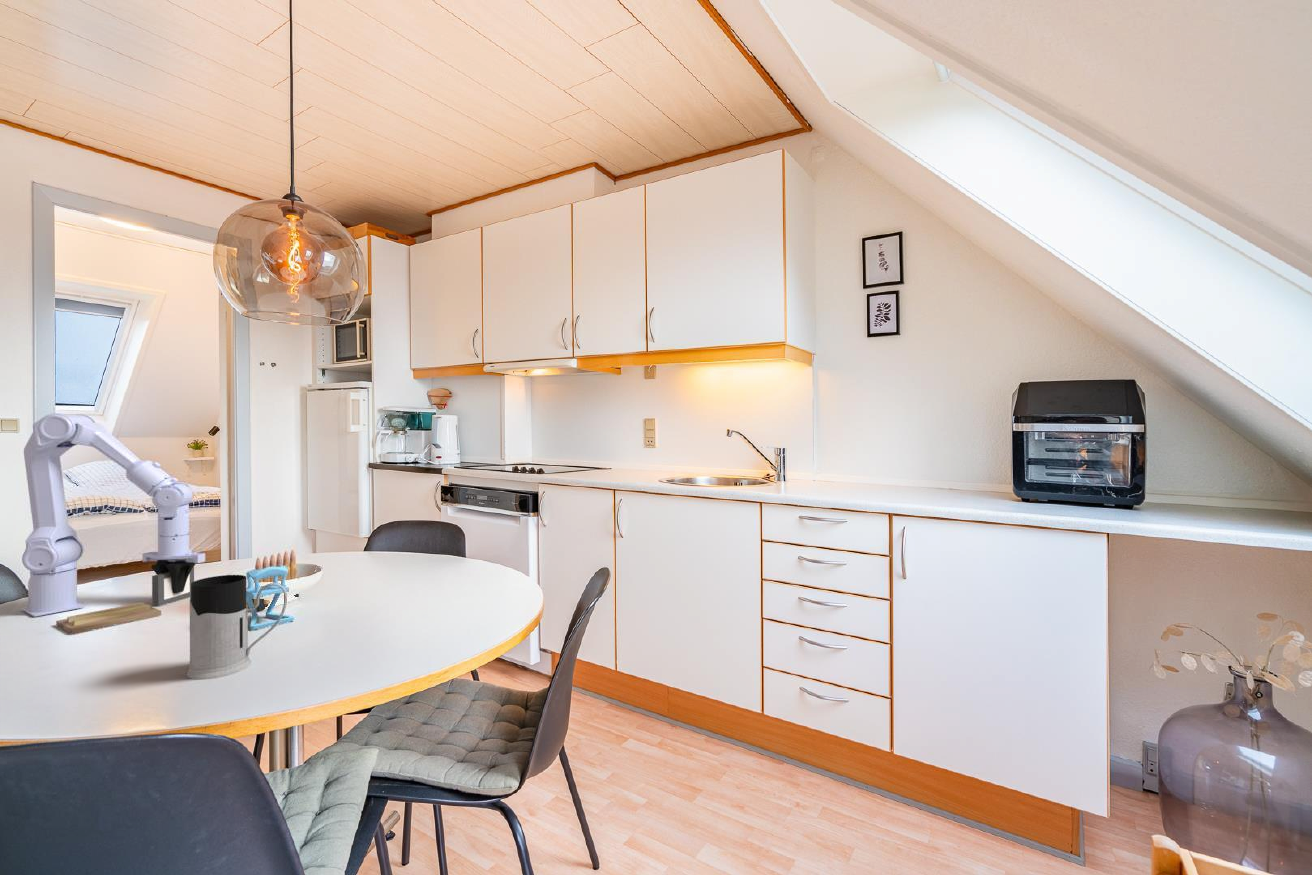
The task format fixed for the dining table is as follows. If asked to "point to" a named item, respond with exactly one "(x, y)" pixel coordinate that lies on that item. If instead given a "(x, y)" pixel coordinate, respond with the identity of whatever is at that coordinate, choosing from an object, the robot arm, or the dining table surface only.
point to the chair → (269, 590)
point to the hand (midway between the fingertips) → (174, 592)
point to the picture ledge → (107, 617)
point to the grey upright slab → (168, 589)
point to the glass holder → (221, 626)
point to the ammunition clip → (290, 575)
